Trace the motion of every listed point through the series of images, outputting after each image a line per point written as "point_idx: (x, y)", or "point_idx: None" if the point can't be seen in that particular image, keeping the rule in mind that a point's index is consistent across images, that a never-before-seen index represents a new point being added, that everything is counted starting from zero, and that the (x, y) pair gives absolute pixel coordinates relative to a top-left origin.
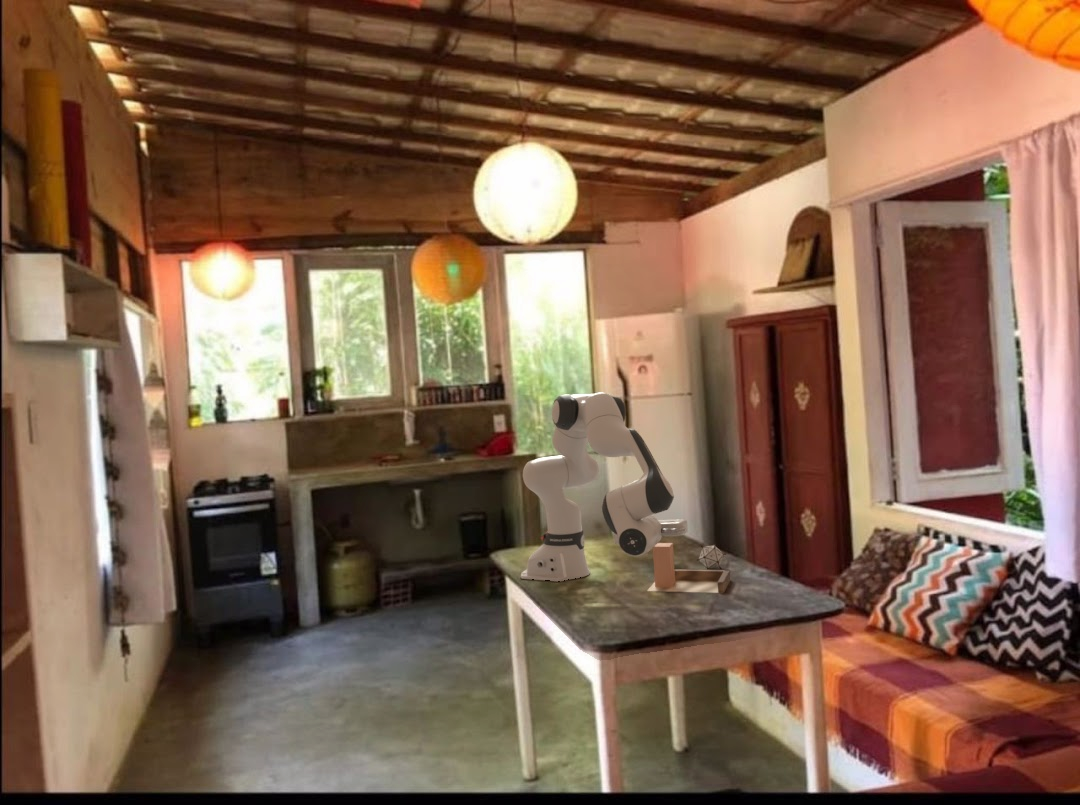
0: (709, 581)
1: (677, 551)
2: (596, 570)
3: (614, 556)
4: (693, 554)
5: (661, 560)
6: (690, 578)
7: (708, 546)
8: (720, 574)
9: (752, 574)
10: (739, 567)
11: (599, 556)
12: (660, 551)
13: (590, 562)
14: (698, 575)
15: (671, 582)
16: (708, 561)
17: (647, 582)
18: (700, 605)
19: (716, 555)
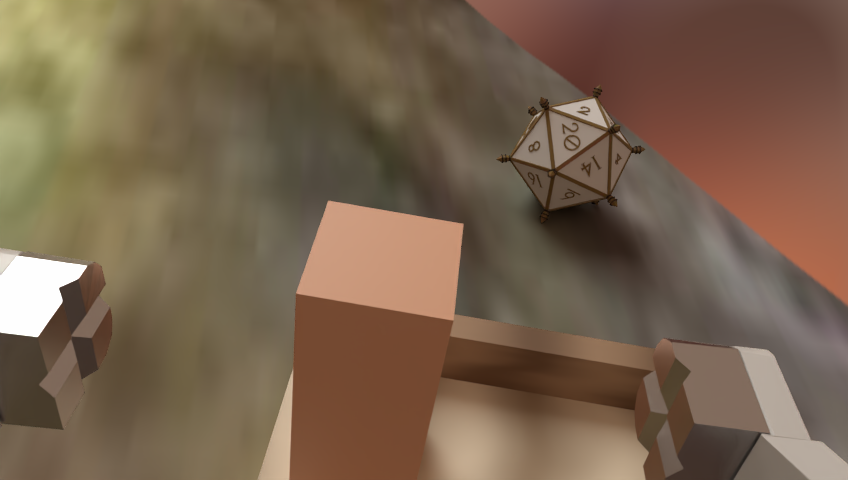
0: (618, 415)
1: (385, 21)
2: (5, 137)
3: (138, 19)
4: (446, 52)
5: (360, 390)
6: (508, 379)
7: (573, 106)
8: None
9: (760, 287)
10: (664, 196)
11: (76, 9)
12: (363, 336)
13: (14, 53)
14: (562, 376)
15: None
16: (564, 188)
17: (246, 342)
18: None
19: (610, 166)
